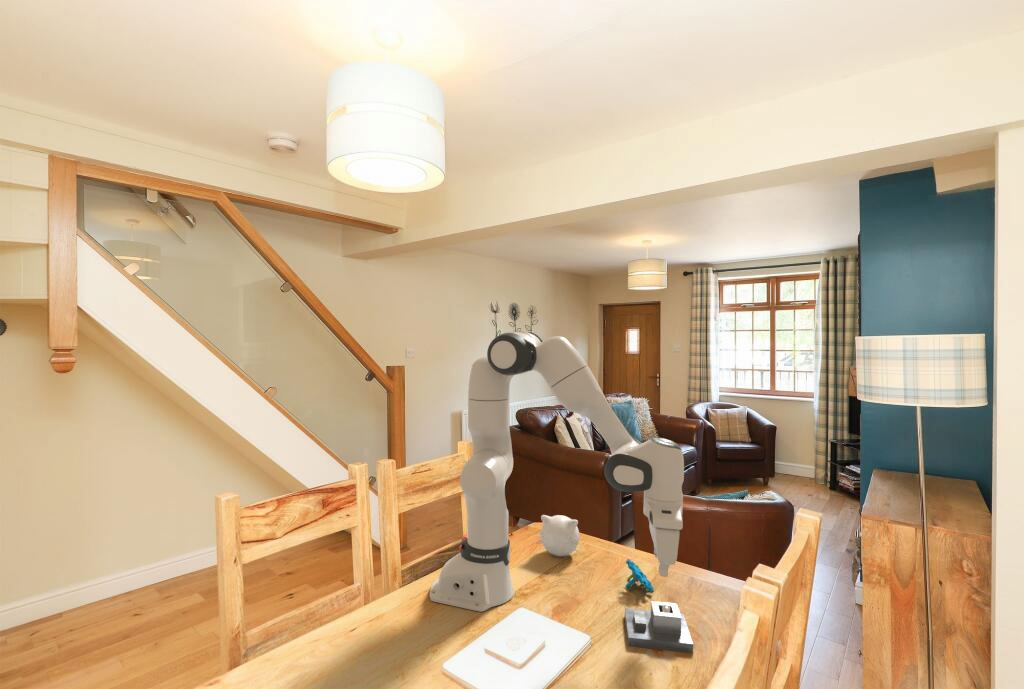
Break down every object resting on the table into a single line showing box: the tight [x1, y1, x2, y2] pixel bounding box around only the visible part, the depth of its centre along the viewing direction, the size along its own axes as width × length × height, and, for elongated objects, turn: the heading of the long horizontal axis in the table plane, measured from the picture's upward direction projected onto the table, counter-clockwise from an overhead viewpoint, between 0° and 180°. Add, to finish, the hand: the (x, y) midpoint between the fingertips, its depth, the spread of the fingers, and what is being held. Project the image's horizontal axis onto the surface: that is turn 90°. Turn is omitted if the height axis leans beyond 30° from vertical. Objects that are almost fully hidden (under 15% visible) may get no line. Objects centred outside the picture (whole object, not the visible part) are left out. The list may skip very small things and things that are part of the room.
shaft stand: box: [624, 605, 694, 654], centre depth 118 cm, size 14×12×6 cm
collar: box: [650, 600, 681, 635], centre depth 118 cm, size 6×6×4 cm
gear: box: [625, 558, 655, 593], centre depth 139 cm, size 11×6×10 cm
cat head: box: [533, 514, 580, 557], centre depth 159 cm, size 15×13×12 cm
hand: (660, 565), depth 119 cm, fingers open, 8 cm apart
